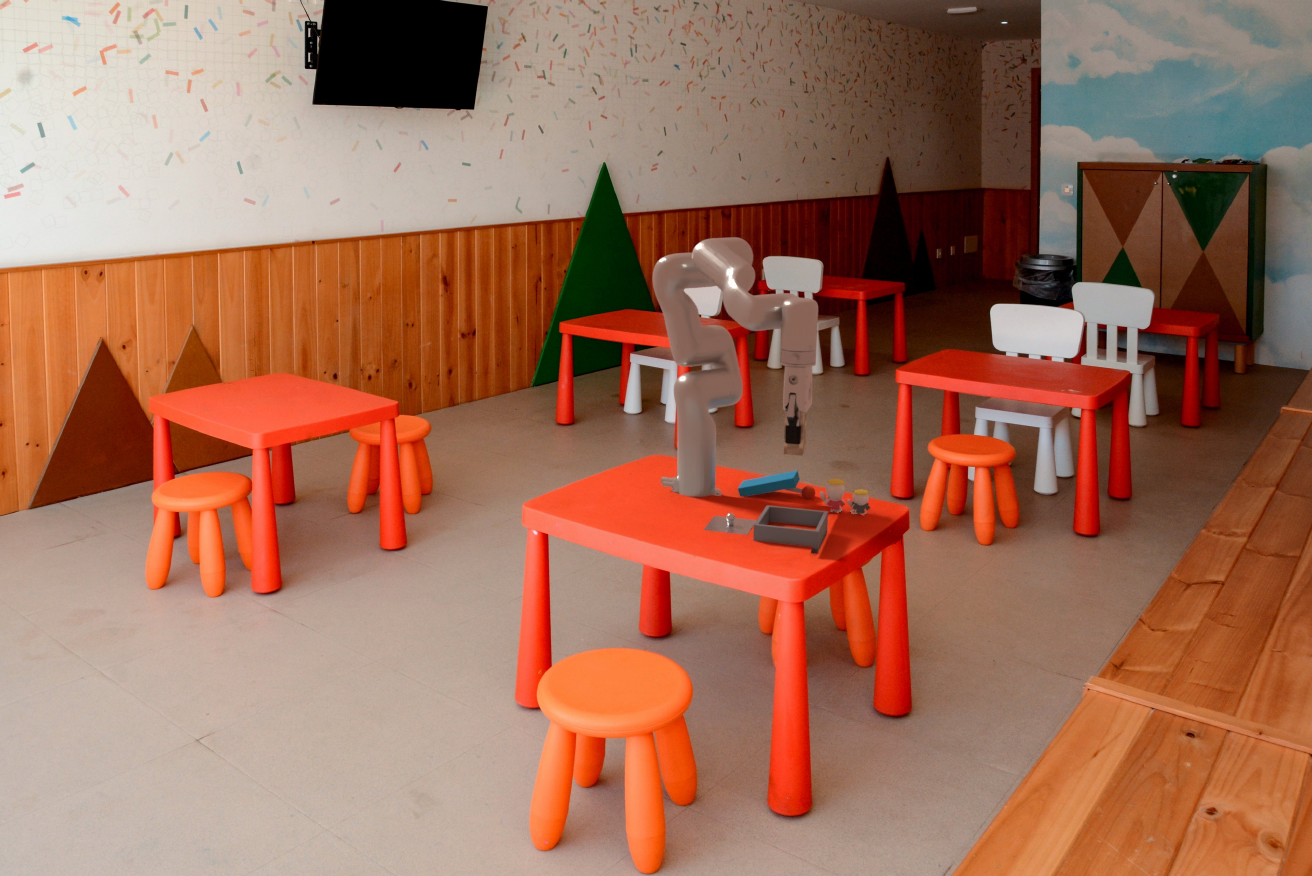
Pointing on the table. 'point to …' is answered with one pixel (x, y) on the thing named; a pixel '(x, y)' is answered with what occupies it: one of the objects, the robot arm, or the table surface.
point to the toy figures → (836, 493)
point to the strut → (800, 448)
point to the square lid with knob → (730, 524)
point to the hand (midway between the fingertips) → (794, 439)
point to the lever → (775, 485)
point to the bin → (792, 534)
